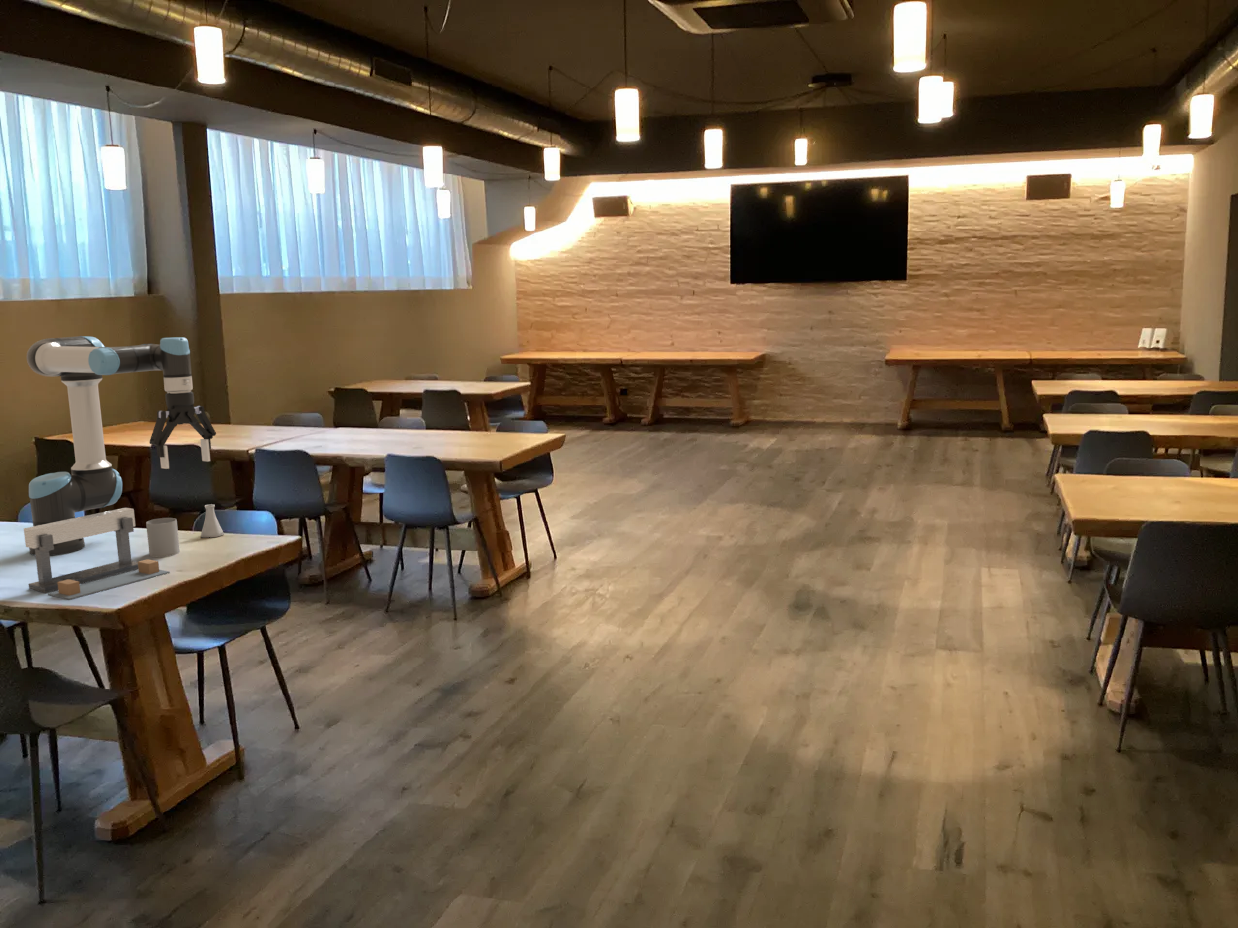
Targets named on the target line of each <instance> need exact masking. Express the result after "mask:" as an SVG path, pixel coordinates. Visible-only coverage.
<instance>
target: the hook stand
mask: <svg viewBox="0 0 1238 928" xmlns="http://www.w3.org/2000/svg"><path fill="white" fill-rule="evenodd" d="M122 524H123V529H120V530H116V531H114V532H115V540H116V548H117V550H116V551H117V557H118V558H117V559H118V561H116V562H111V563H107V564H103V565H100V566H95V567H94V566H93V567H90V568H88V569H87V568H86V569H83V570H79V571H75V572H71V573H67V574H62V575H58V576H55V577H53V573H52V566H51V565H52V564H51V557H50V556H51V555H49V551H50V550H54V544H53V536H52V535H51V534H49V535H44V536H41V541H42V547H39V548H30V549H35V555H34V556H35V562H36V570H37V572H36V573H37V578H38V579H37V581H35V582H31V583H28V590H30V591H34V592H38V593H43V594H48V593H51V592H55V591H58V583H57V582H59V581H63V580H67V579H70V580H74V581H79V584H80V585H82V584H85V583H89V582H93V581H97V580H101V579H105V578H109V577H112V576H116V575H120V574H124V573H128V572H132V571H136V570H139V569H138V562H139V561H133V560H132V553H131V544H130V535H129V533H133V532H134V531H135V529H134V527H133V519H132V518H131V517H129V518H124V519H122Z"/></svg>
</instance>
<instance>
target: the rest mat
mask: <svg viewBox="0 0 1238 928" xmlns="http://www.w3.org/2000/svg"><path fill="white" fill-rule="evenodd" d="M137 562H138V569H137V570H134V571H130V572H126V573H122V574H118V575H114V576H110V577H106V578H103V579H99V580H95V581H91V582H87V583H83V584H79V581H74V580H70V579H67V580H63V581H59V582H57V583H58V590H56V591H52V592H49V593H47V595H48V596H52V597H55V598H60V599H63V600H68V601H71V600H74V599H78V598H82V597H85V596H88V595H89V594H90V595H93V594H96V592H97V593H100V591H101V592H104V591H103V590H105V591H109V590H111V589H115V588H119V587H123V586H127V585H130V584H134V583H137V582H140V581H145V580H148V579H152V578H156V576H157V577H160V576H164V575H166V574H167V573H168V574H171V572H170V571H167V570H164V569H160V566H159V561H158V560H153V559H148V558H147V559H144V560H139V561H137ZM163 574H164V575H163ZM168 574H167V575H168Z"/></svg>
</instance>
